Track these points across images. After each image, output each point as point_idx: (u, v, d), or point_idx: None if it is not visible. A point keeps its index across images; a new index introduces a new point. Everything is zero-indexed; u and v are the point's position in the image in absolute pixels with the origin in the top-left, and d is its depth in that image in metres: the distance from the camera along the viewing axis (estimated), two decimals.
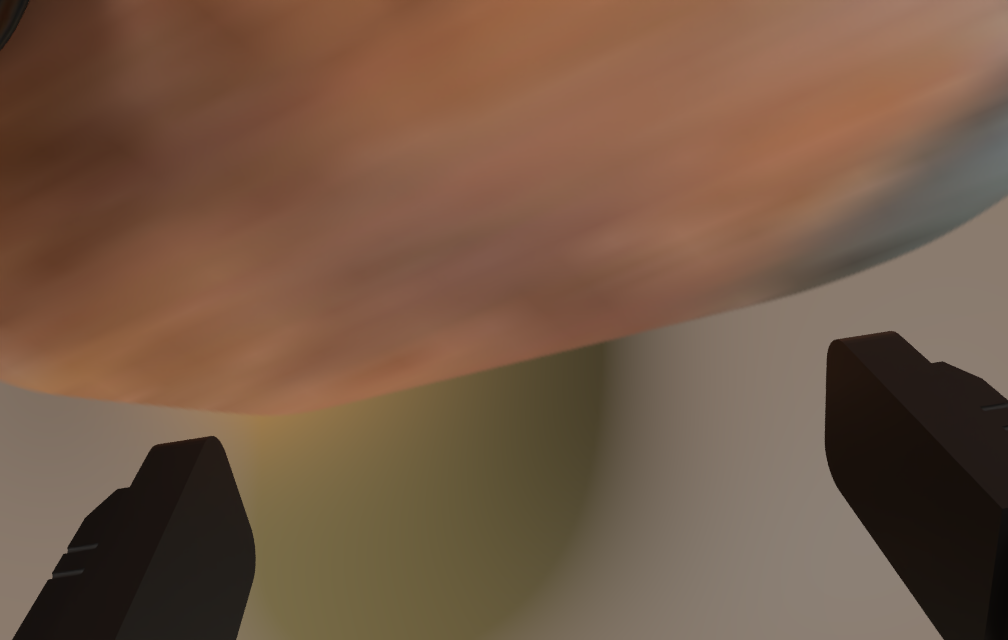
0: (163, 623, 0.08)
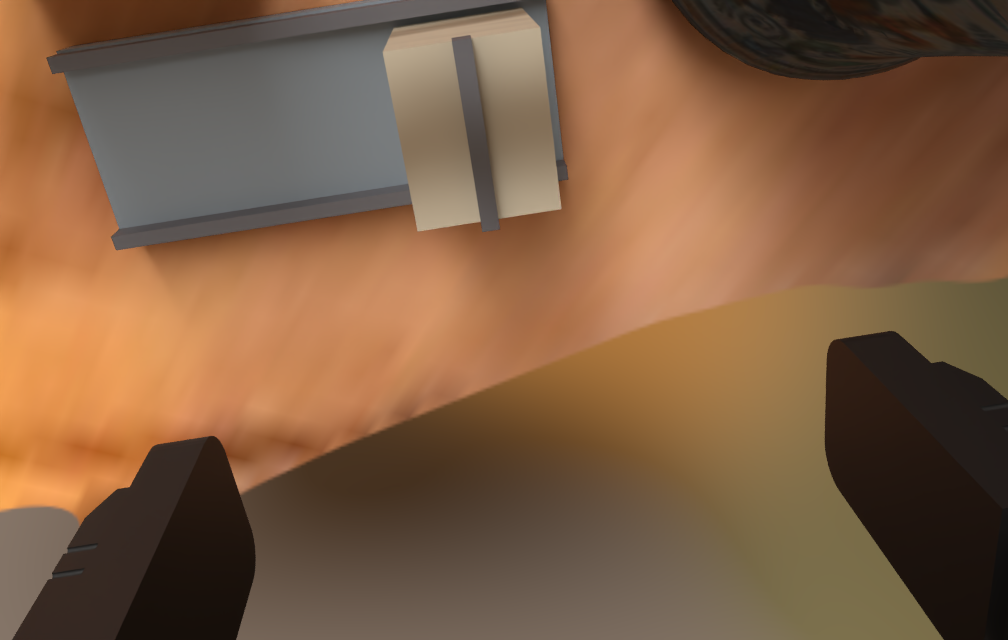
0: (163, 623, 0.08)
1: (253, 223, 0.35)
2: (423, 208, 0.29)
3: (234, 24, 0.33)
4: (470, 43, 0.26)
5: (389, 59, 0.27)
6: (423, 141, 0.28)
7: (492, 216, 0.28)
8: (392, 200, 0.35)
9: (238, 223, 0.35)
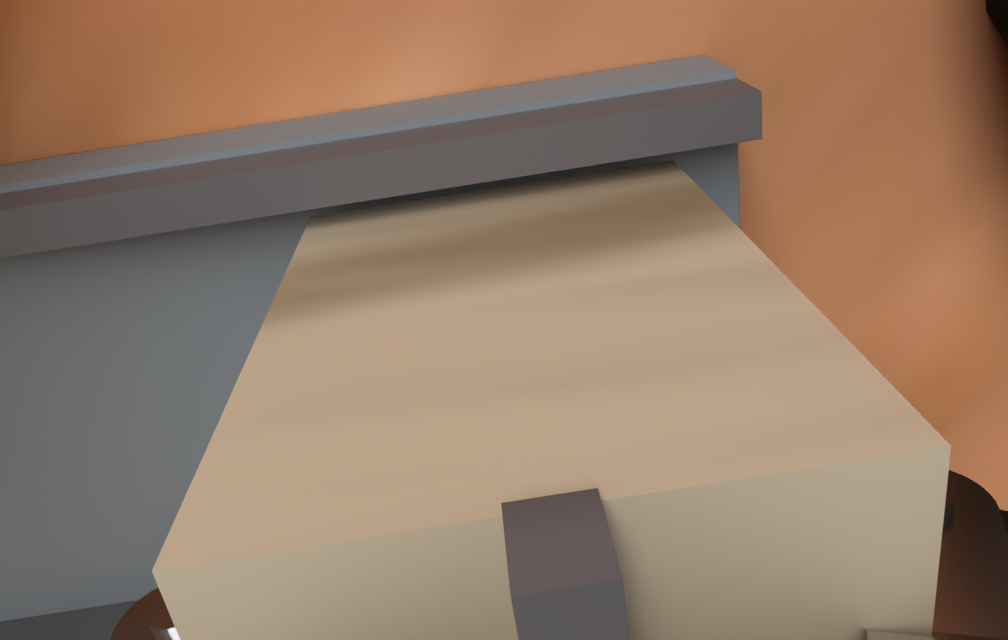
0: None
1: None
2: None
3: None
4: (616, 602, 0.05)
5: (189, 599, 0.05)
6: None
7: None
8: None
9: None
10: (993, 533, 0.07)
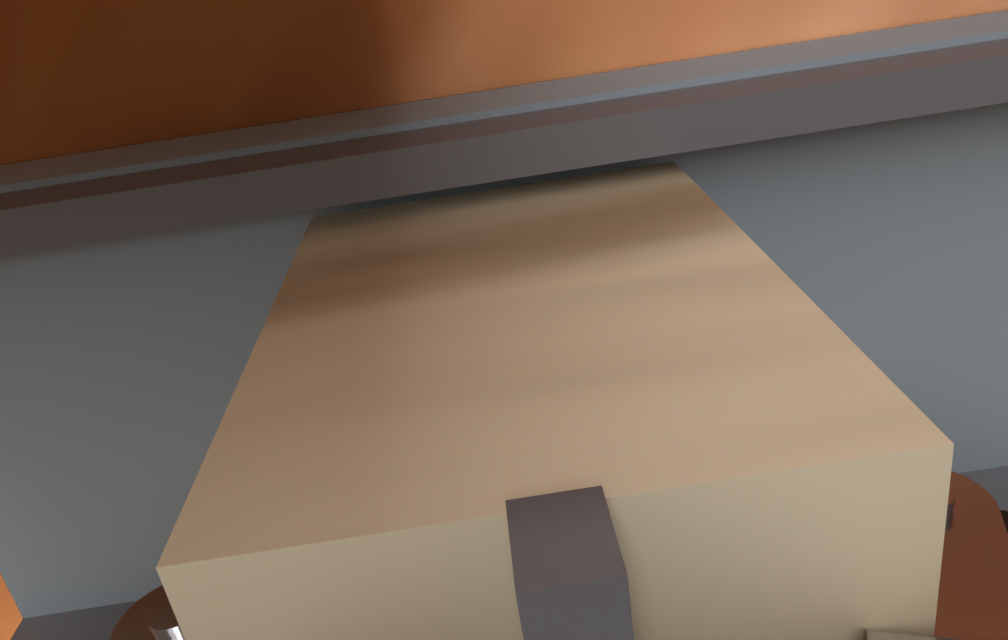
0: None
1: None
2: None
3: (329, 137, 0.11)
4: (621, 599, 0.05)
5: (194, 595, 0.05)
6: None
7: None
8: None
9: None
10: (994, 533, 0.07)
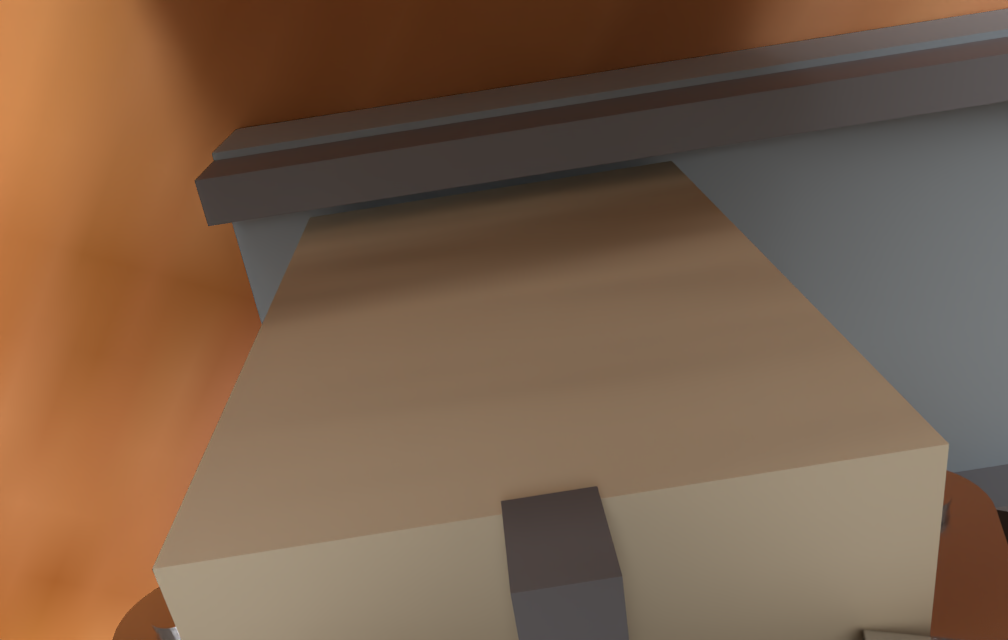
0: None
1: None
2: None
3: (720, 76, 0.11)
4: (616, 600, 0.05)
5: (190, 597, 0.05)
6: None
7: None
8: None
9: None
10: (990, 533, 0.07)
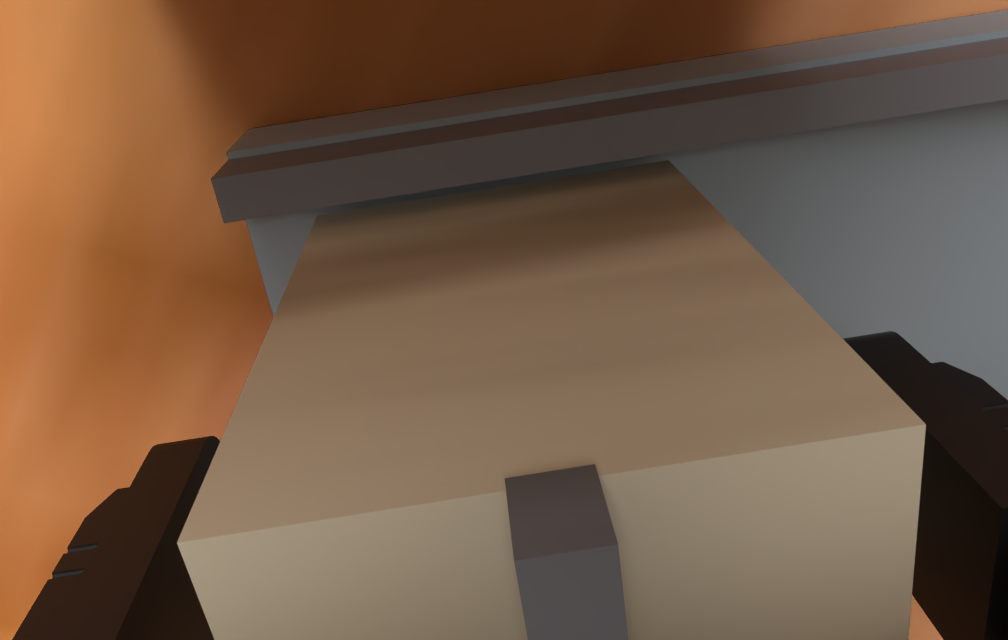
0: (163, 623, 0.08)
1: None
2: None
3: (720, 77, 0.12)
4: (612, 567, 0.05)
5: (212, 570, 0.06)
6: None
7: None
8: None
9: None
10: None
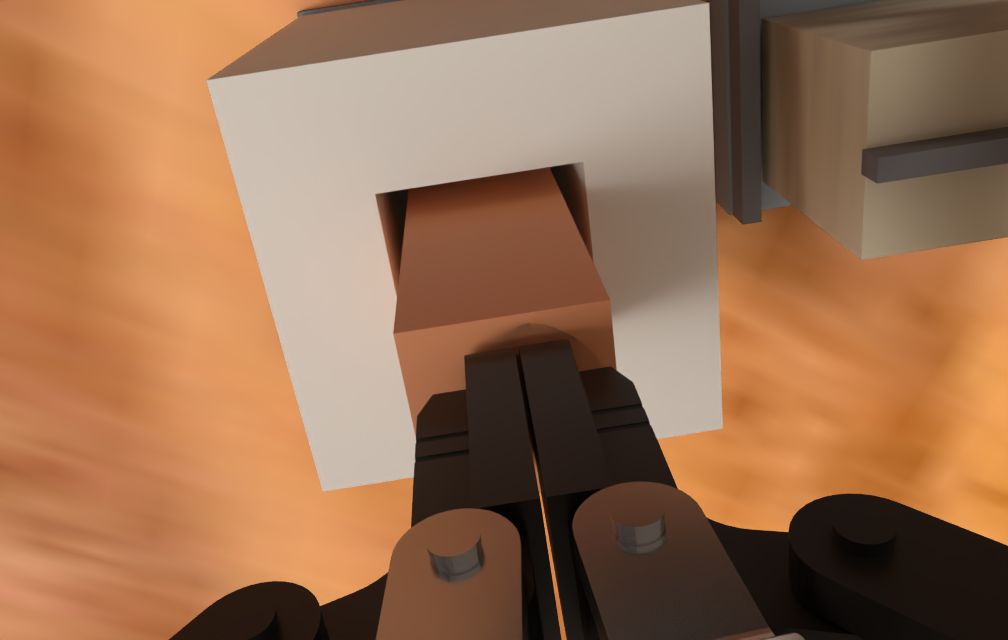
0: None
1: None
2: None
3: None
4: (885, 158, 0.19)
5: (871, 252, 0.21)
6: (983, 212, 0.21)
7: None
8: None
9: None
10: (690, 550, 0.07)
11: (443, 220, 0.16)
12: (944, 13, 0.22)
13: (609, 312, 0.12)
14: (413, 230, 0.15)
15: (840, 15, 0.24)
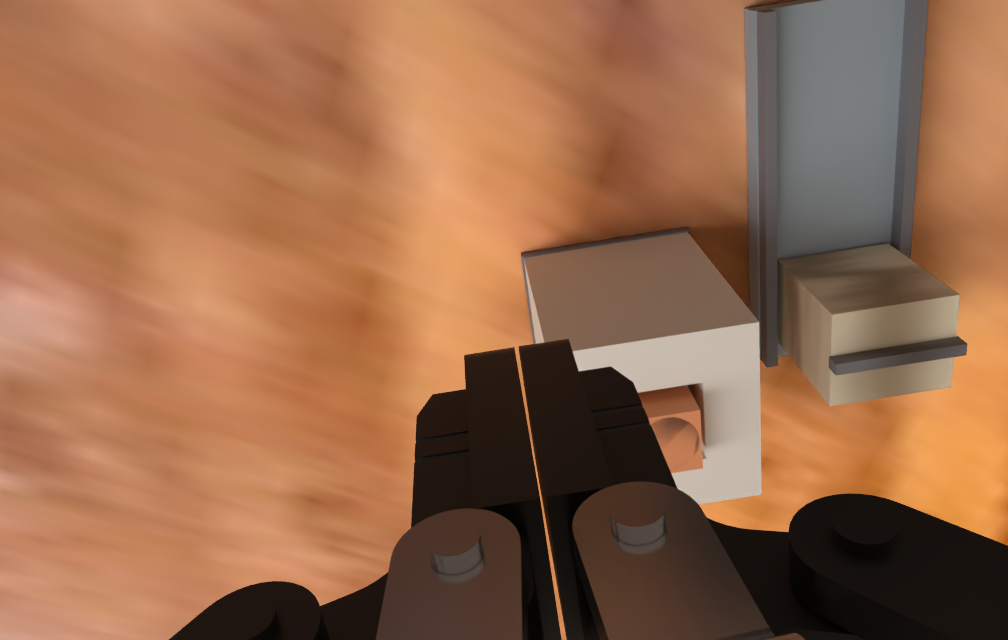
0: None
1: (906, 250, 0.45)
2: (935, 383, 0.41)
3: (758, 246, 0.46)
4: (839, 364, 0.40)
5: (834, 402, 0.41)
6: (890, 383, 0.41)
7: (956, 348, 0.40)
8: (913, 142, 0.43)
9: None
10: (689, 550, 0.07)
11: None
12: (872, 277, 0.42)
13: (699, 413, 0.36)
14: None
15: (820, 266, 0.44)
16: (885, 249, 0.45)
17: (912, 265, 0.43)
